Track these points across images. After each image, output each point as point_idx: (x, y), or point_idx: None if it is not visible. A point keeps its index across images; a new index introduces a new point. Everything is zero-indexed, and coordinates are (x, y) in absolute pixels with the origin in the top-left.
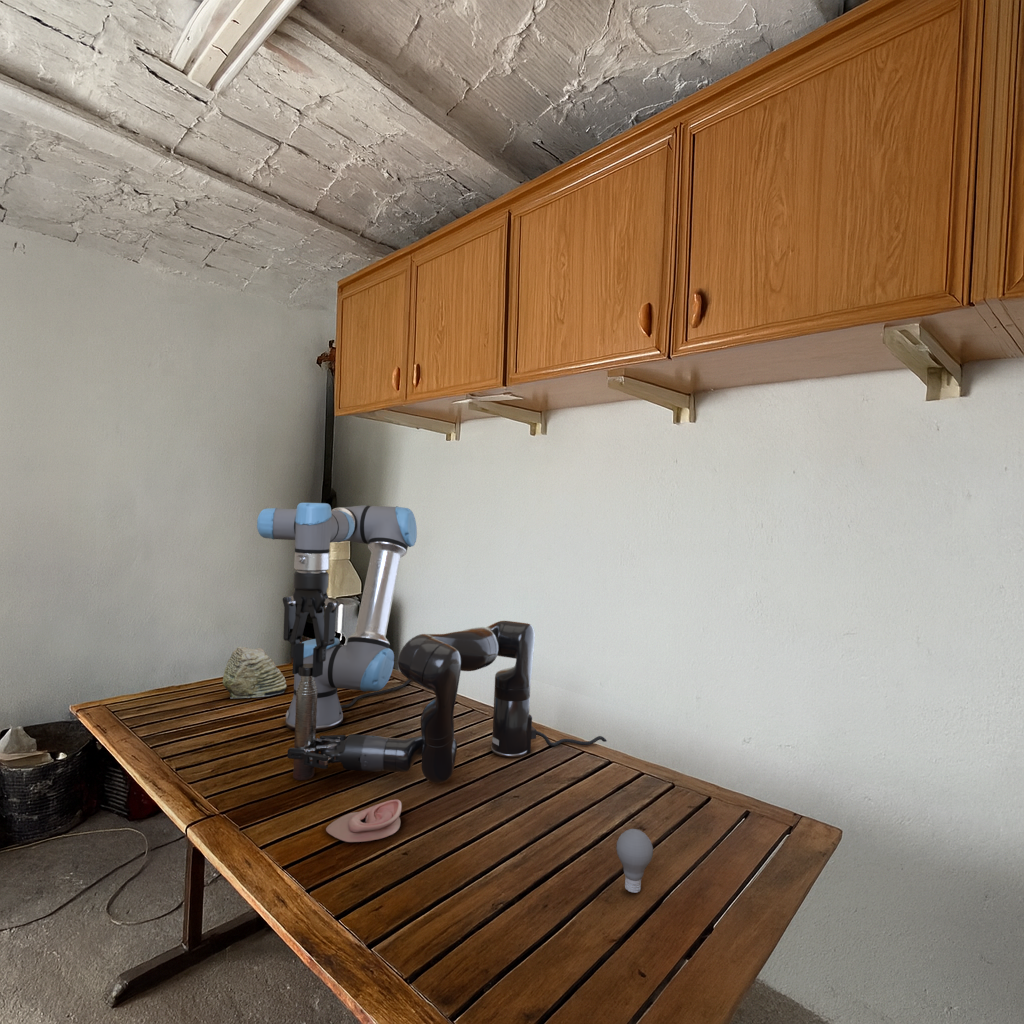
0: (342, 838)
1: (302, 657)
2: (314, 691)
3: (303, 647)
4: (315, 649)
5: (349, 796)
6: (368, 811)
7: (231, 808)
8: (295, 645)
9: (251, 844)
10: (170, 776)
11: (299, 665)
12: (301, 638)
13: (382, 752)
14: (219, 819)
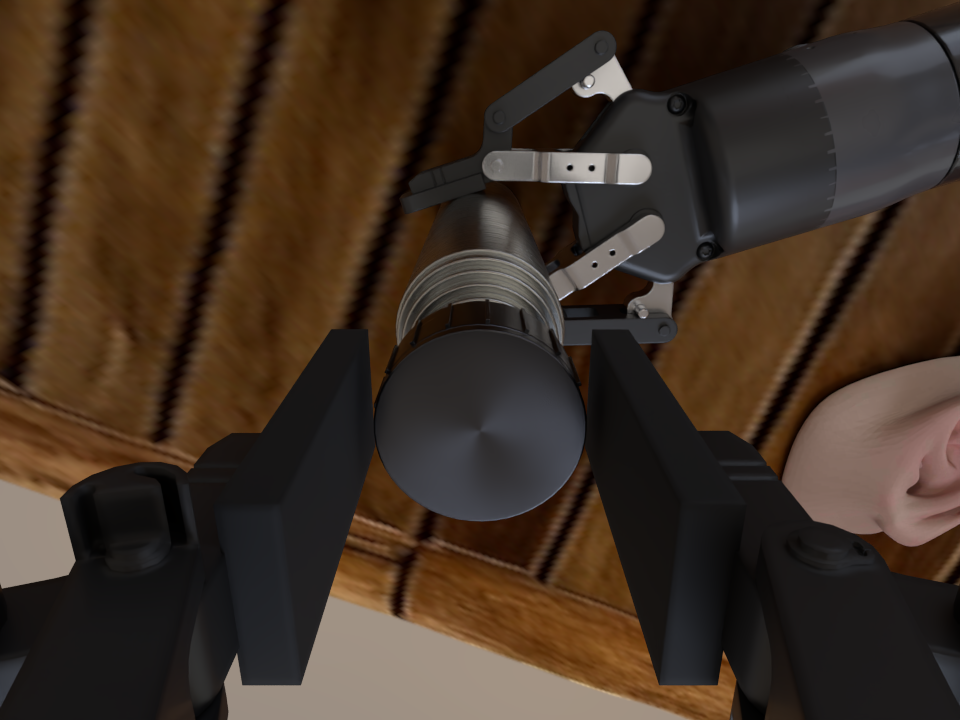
0: (858, 532)
1: (335, 411)
2: (561, 342)
3: (301, 474)
4: (695, 666)
5: (745, 290)
6: (923, 455)
7: (426, 509)
8: (282, 683)
9: (621, 619)
10: (52, 430)
11: (391, 468)
12: (193, 582)
13: (927, 187)
14: (446, 565)
